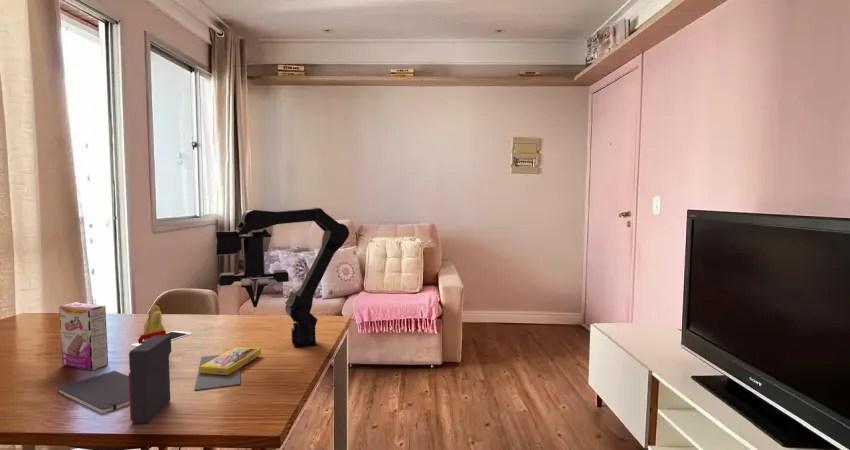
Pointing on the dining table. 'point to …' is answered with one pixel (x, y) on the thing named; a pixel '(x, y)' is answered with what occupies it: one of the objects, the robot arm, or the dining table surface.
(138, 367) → the dark grey upright slab
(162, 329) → the chocolate bunny
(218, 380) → the mat
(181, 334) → the cell phone
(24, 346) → the dining table surface
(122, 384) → the notebook
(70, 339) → the candy bar box
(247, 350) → the candy box
